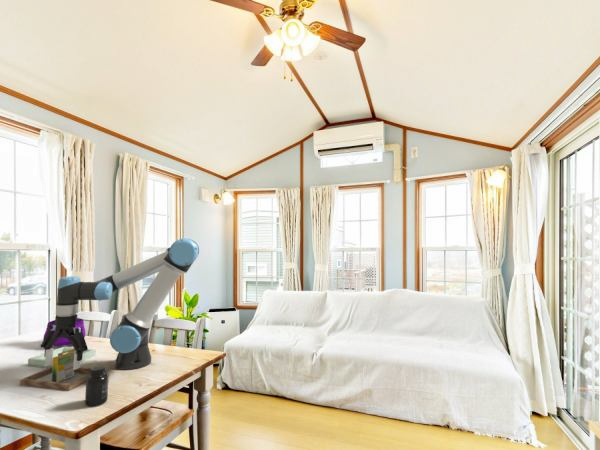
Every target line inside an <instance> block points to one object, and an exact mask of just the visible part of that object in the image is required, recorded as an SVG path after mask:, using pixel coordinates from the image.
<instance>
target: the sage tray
mask: <svg viewBox="0 0 600 450" xmlns="http://www.w3.org/2000/svg"><path fill="white" fill-rule="evenodd" d="M72 349H74V347H73V346H60V347H58V348H55V349H53V357H57V356H58V354H59V353H62V352H65V351H68V350H72ZM79 350H80V349H79ZM96 352H97V350H96V349H94V348H88V350H86V351H84V352H83V356H82V360H81V363H82V362H83V361H86V360H88V359H91V358H92V357H96ZM66 353H69V352H66ZM66 353H64V354H66ZM75 353H76V351H75ZM44 354H45V352H44V353H41V354H39V355H36V356H33V357H30V358H28V359H27V366H30V367H36V368H37V367H38V368H45V369H48V368H51V367H53V359H52V364H51V365H48V366H45V356H44Z"/></svg>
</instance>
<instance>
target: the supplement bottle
mask: <svg viewBox="0 0 600 450" xmlns="http://www.w3.org/2000/svg"><path fill="white" fill-rule="evenodd" d="M90 368H91V369H90V373H89V374H88V375H90V376H89V377H88V378H87V380H86V382H85V392H84V393H85V394H84V395H85V398H84V399H85V400H84V401H85V402H84V404H85V406H86V407H90V408H92V407H95V408H96V407H99V406H102V405H104V404H105V403H106V402H107V401H108V399H109V398H108V397H109V396H108V395H109V374H107V373H106V372H107V371H106V366H105V365H97V366H92V367H90Z"/></svg>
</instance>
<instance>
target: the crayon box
mask: <svg viewBox="0 0 600 450" xmlns="http://www.w3.org/2000/svg"><path fill="white" fill-rule="evenodd" d="M66 352H69V353H66ZM64 353H66V354H64ZM74 353H75V349H72V350H68V351H65V352H62V353H59V354H58V356H57V357H53V367H52V373H51V382H59V383H61V382H63V381H64V380H65V381H66V380H67V379H70V378H74V376H75V374H74V373H75V372H74V370H73V366H74Z"/></svg>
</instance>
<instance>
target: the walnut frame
mask: <svg viewBox="0 0 600 450" xmlns="http://www.w3.org/2000/svg"><path fill="white" fill-rule="evenodd" d="M91 368H92V367H82V366H80V368H78V369H76V370H74V373H76V374H86V375H84V376H83V377H82V376H81V378H79V379H76V380H75V381H72V382H70V383H66V382H52V380H51V381H50V380H40V378H43V377H45V376H48V375H50V374H52V367H51V368H45V369H43V370H41V371H39V372H36V373H34V374H31V375H28V376H26V377H23V378H21V379H19V385H20V386H25V387H26V386H27V387H33V388H34V387H35V388H36V387H37V388H44V389H52V390H60V391H61V390H62V391H72V390H73V389H76V388H78V387H80V386H81V385H83V384H86V380H87V378H88V377H89V376H90V375H89V373H90V369H91Z"/></svg>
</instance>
